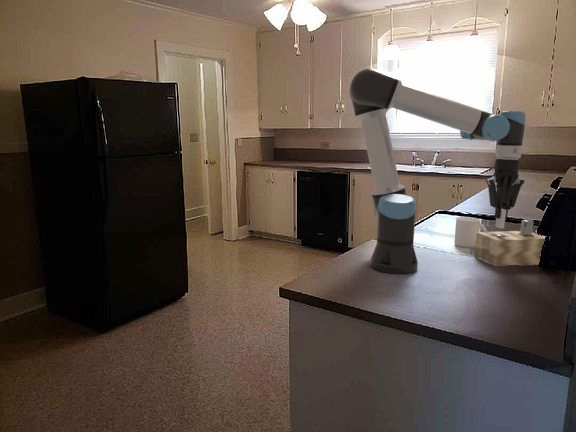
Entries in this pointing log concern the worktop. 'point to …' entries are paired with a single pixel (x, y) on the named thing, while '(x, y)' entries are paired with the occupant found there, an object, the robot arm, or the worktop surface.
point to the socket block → (509, 248)
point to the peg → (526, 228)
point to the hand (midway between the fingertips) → (499, 227)
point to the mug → (467, 231)
